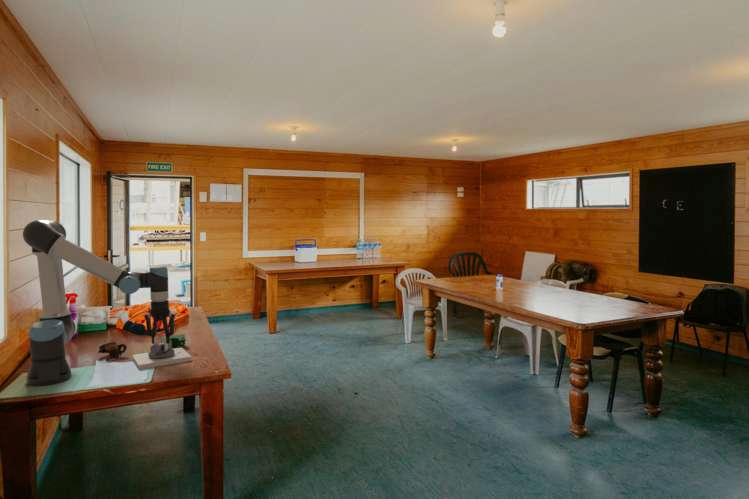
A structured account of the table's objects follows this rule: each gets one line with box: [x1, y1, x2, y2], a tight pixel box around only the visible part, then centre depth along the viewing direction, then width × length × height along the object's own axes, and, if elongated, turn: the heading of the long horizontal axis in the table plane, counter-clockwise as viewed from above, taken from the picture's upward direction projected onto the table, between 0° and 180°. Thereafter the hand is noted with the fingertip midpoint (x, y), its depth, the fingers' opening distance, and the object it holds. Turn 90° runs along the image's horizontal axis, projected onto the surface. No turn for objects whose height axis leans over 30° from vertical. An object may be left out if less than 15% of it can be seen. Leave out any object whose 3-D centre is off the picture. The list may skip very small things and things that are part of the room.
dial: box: [147, 340, 174, 359], centre depth 222 cm, size 11×11×6 cm
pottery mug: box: [97, 341, 128, 361], centre depth 226 cm, size 12×10×8 cm
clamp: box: [160, 333, 187, 348], centre depth 242 cm, size 12×6×9 cm, turn 112°
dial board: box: [131, 347, 192, 370], centre depth 222 cm, size 22×18×2 cm
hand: (161, 350), depth 222 cm, fingers closed on dial, 4 cm apart
